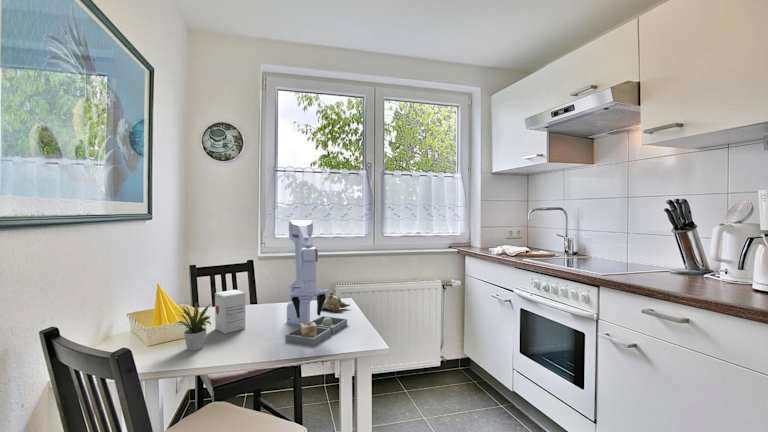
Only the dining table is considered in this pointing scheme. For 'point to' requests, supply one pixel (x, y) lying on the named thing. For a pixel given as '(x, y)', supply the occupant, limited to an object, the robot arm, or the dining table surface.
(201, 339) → the house plant
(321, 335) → the tray near
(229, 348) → the dining table surface
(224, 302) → the supplement box
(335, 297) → the ceramic sculpture
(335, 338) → the dining table surface
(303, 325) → the letter cube
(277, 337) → the dining table surface
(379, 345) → the dining table surface
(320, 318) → the tray far
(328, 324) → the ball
